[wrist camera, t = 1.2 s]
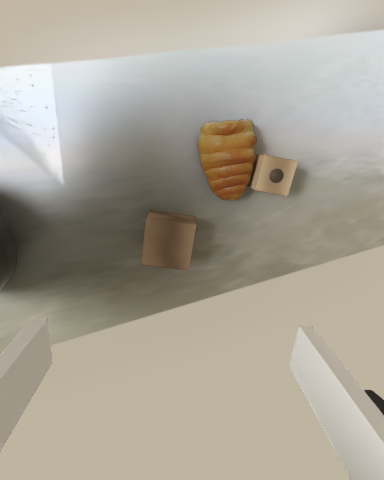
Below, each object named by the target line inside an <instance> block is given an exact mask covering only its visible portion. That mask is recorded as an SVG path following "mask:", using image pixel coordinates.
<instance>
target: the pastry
mask: <svg viewBox="0 0 384 480" xmlns="http://www.w3.org/2000/svg"><path fill="white" fill-rule="evenodd" d="M253 127H254V124H253V122H252V121H251V120H249V119H241V120H239V121H224V122H221V123H220V122H218V121H209V122H207V123H205V124H204V125H203V126H202V128H201V131H200V137H199V141H198V149H199V153H200V159H201V165H202V168H203V170H204V173H205V175H206V177H207V180H208V183H209V185H210V187H211V189H212V191H213V193H214V194H216V195H217V196H218V197H219V198H221V199H223V200H237V199H239V198H240V196H241V195H242V194H243V193H244V192H245V190H246V187H247V184H248V183H249V181H250V177H251V173H252V170H253V163H254V161H255V158H256V156H255V152H254V150H255V148H254V145H255V144H256V141H257V138H256V136H255V134H254V130H253Z"/></svg>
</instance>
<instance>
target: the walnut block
mask: <svg viewBox="0 0 384 480" xmlns="http://www.w3.org/2000/svg"><path fill="white" fill-rule="evenodd" d="M195 231H196V220H195V217H193V216H186V215H179V214H173V213H166V212H159V211H152V210H150V212H149V213H148V215H147V217H146V223H145V232H144V241H143V251H142V260H141V264H142V265H149V266H157V267H165V268H173V269H180V270H188V271H189V267H190V261H191V255H192V249H193V243H194V237H195Z"/></svg>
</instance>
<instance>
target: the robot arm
mask: <svg viewBox="0 0 384 480" xmlns="http://www.w3.org/2000/svg"><path fill="white" fill-rule="evenodd" d="M16 263H17V248H16V243H15V240H14V237H13V234H12V232H11V230H10V228H9V226H8V224H7V223H6V221H5V220H4V218H3V217H2V216H1V214H0V289H2V288H3V287H4V286H5V285H6V284H7V283H8V282H9V280H10V279H11V277H12V275H13V273H14V271H15V267H16ZM51 364H52V354H51V345H50V337H49V328H48V319H47V318H31V319H30V320H29V321H28V322H27V324H26V325H25V326H24V327H23V328H22V329H21V331H20V332H19V333H18V334H17V335H16V336H15V337H14V339H13V340H12V341H11V342H10V343H9V344H8V345H7V347H6V348H5V349H4V350H3V351H2V352H1V354H0V451H1V449H2V448H3V446H4V444H5V443H6V441H7V439H8V437H9V436H10V434H11V432H12V431H13V429H14V427H15V426H16V424H17V422H18V420H19V419H20V417H21V415H22V414H23V412H24V410H25V408H26V407H27V405H28V403H29V401H30V400H31V398H32V396H33V395H34V393H35V391H36V390H37V388H38V386H39V384H40V383H41V381H42V379H43V378H44V376H45V374H46V372H47V371H48V369H49V367H50V366H51ZM289 367H290V369H291V370H292V372H293V374H294V376H295V378H296V380H297V382H298V383H299V385H300V387H301V389H302V391H303V393H304V395H305V396H306V398H307V400H308V402H309V404H310V406H311V408H312V409H313V411H314V413H315V415H316V417H317V419H318V421H319V423H320V424H321V426H322V428H323V430H324V432H325V434H326V436H327V437H328V439H329V441H330V443H331V445H332V447H333V448H334V450H335V452H336V454H337V456H338V458H339V460H340V461H341V463H342V465H343V467H344V469H345V471H346V473H347V475H348V476H349V478H350V480H384V400H383V399H382V398H381V397H379V396H378V395H377V394H376V393H374V392H373V391H372V390H363V389H362V387H361V386H360V385H359V384H358V382H357V381H356V380H355V379H354V377H353V376H352V375H351V374H350V372H349V371H348V370H347V369H346V367H345V366H344V365H343V364H342V363H341V361H340V360H339V359H338V357H337V356H336V355H335V354H334V353H333V351H332V350H331V349H330V347H329V346H328V345H327V344H326V342H325V341H324V340H323V339H322V337H321V336H320V335H319V334H318V332H317V331H316V330H315V329H314V327H313V326H299V328H298V333H297V336H296V340H295V345H294V348H293V352H292V356H291V360H290V364H289Z"/></svg>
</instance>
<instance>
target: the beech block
mask: <svg viewBox="0 0 384 480" xmlns="http://www.w3.org/2000/svg"><path fill="white" fill-rule="evenodd" d="M255 156H256V158H255V161H254V163H253V170H252V173H251V177H250V181H249V183H248V184H247V186H248V187H250V188H252V189H254V190H258V191H264V192H269V193H274V194H279V195H284V196H288V193H289V190H290V186H291V183H292V180H293V176H294V173H295V170H296V166H297V163H298V161H294V160H289V159H284V158H279V157H274V156H270V155H265V154H260V155H255Z"/></svg>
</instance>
